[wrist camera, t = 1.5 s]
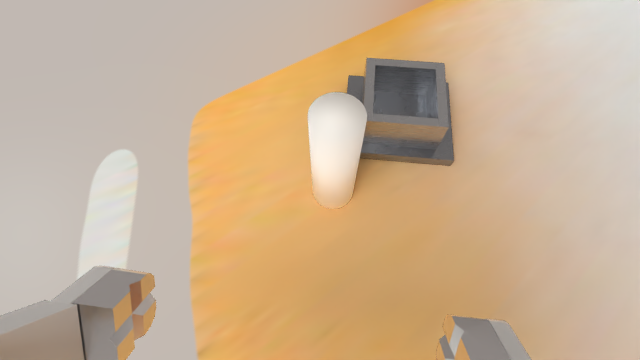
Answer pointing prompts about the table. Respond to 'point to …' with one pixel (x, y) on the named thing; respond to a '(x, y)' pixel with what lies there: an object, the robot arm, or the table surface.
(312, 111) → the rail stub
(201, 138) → the table surface
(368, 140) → the cup bracket
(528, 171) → the table surface
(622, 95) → the table surface
